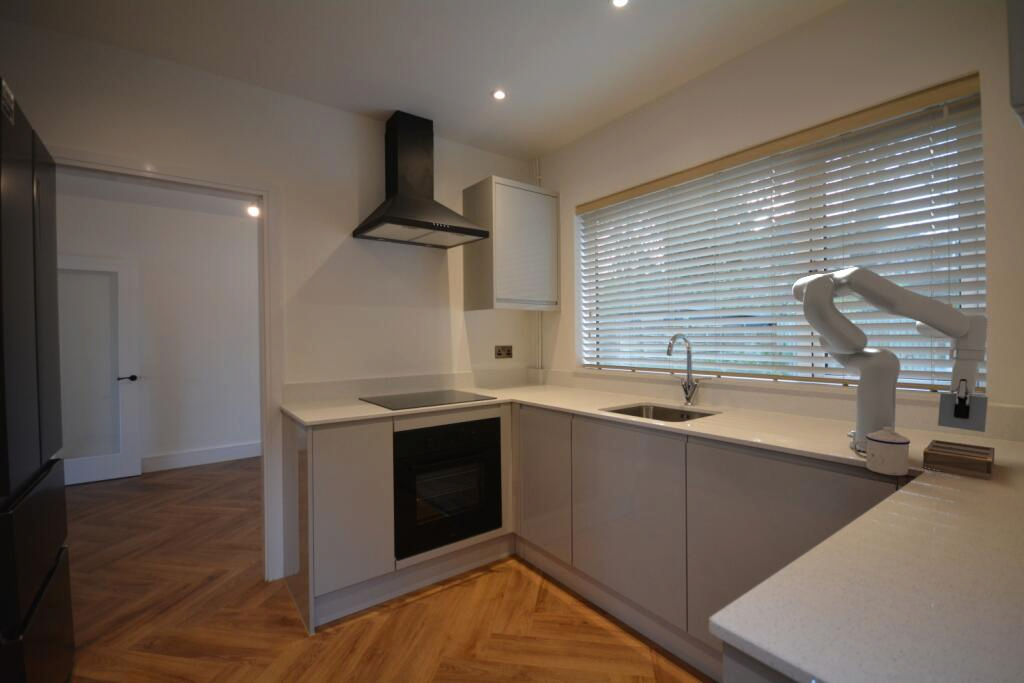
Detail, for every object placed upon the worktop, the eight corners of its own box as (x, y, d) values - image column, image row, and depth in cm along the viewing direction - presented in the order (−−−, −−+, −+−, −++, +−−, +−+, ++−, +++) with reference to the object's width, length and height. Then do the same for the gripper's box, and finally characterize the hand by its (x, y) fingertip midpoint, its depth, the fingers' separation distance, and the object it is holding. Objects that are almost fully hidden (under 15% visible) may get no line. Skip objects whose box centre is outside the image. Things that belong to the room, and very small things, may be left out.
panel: (984, 432, 134) (987, 397, 134) (937, 425, 142) (940, 392, 141) (984, 431, 136) (987, 397, 136) (938, 424, 143) (941, 392, 143)
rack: (990, 479, 116) (991, 460, 116) (923, 468, 125) (923, 450, 125) (994, 463, 130) (994, 446, 129) (932, 454, 139) (932, 438, 139)
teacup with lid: (910, 470, 123) (911, 427, 123) (907, 478, 117) (909, 432, 117) (855, 461, 132) (856, 420, 131) (849, 468, 125) (850, 425, 125)
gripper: (952, 354, 146) (947, 412, 147) (946, 355, 135) (941, 418, 136) (986, 356, 141) (980, 416, 141) (983, 357, 130) (977, 423, 131)
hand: (961, 416), depth 139 cm, fingers closed on panel, 2 cm apart
